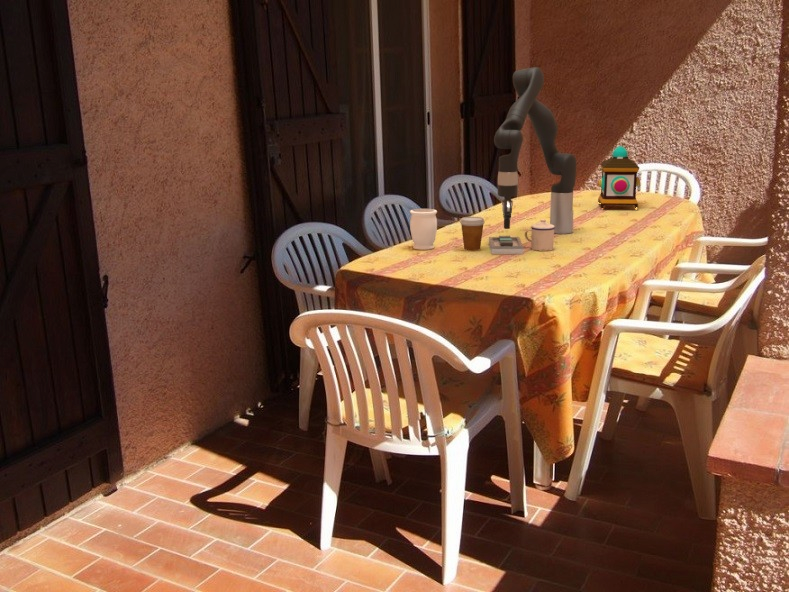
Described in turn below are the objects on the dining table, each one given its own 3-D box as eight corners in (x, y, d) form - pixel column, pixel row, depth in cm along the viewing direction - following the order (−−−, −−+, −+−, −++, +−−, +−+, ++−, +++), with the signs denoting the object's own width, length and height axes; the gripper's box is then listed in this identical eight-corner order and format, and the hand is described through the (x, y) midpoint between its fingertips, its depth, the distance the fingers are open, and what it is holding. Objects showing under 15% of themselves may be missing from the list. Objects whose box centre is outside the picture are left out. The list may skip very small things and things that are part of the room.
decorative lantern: (595, 204, 443) (597, 144, 435) (635, 204, 440) (639, 144, 432) (598, 211, 424) (601, 148, 416) (640, 211, 421) (644, 148, 413)
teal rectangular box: (511, 242, 344) (511, 238, 344) (511, 243, 341) (511, 239, 341) (499, 242, 344) (499, 238, 344) (500, 244, 341) (500, 239, 341)
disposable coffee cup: (484, 246, 349) (484, 216, 346) (484, 251, 340) (484, 220, 337) (460, 246, 350) (460, 216, 347) (459, 251, 341) (459, 220, 338)
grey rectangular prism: (510, 239, 349) (510, 235, 348) (510, 241, 346) (510, 237, 345) (498, 239, 349) (498, 235, 349) (499, 241, 346) (499, 237, 346)
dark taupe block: (512, 244, 339) (512, 240, 339) (512, 246, 336) (512, 242, 336) (500, 244, 339) (500, 240, 339) (501, 246, 336) (501, 242, 336)
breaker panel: (518, 244, 352) (519, 236, 351) (523, 254, 334) (523, 246, 333) (488, 244, 352) (488, 237, 351) (491, 254, 335) (491, 246, 334)
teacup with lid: (557, 247, 344) (558, 218, 341) (549, 252, 337) (549, 222, 334) (528, 244, 350) (529, 216, 347) (519, 249, 343) (520, 219, 340)
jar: (418, 251, 341) (418, 213, 337) (405, 247, 350) (405, 209, 346) (441, 248, 346) (441, 211, 342) (428, 244, 354) (428, 207, 350)
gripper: (519, 185, 325) (518, 231, 330) (516, 180, 338) (515, 225, 343) (498, 185, 326) (498, 231, 330) (496, 181, 339) (495, 225, 343)
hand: (506, 228), depth 337 cm, fingers closed
